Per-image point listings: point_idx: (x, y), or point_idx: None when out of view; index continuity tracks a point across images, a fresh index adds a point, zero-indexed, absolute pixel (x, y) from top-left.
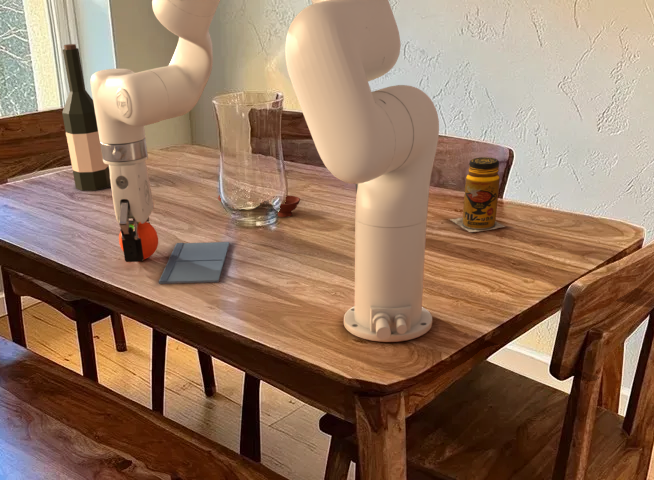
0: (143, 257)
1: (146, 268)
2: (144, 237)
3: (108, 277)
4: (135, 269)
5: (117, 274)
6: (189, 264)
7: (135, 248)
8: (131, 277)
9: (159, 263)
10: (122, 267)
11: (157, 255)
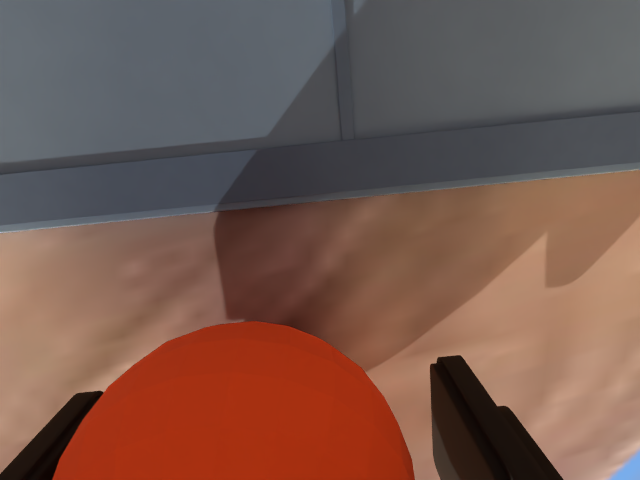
0: (441, 363)
1: (431, 315)
2: (382, 459)
3: None
4: None
5: None
6: (421, 6)
7: (543, 456)
8: (575, 359)
9: (343, 257)
10: None
11: (193, 311)
